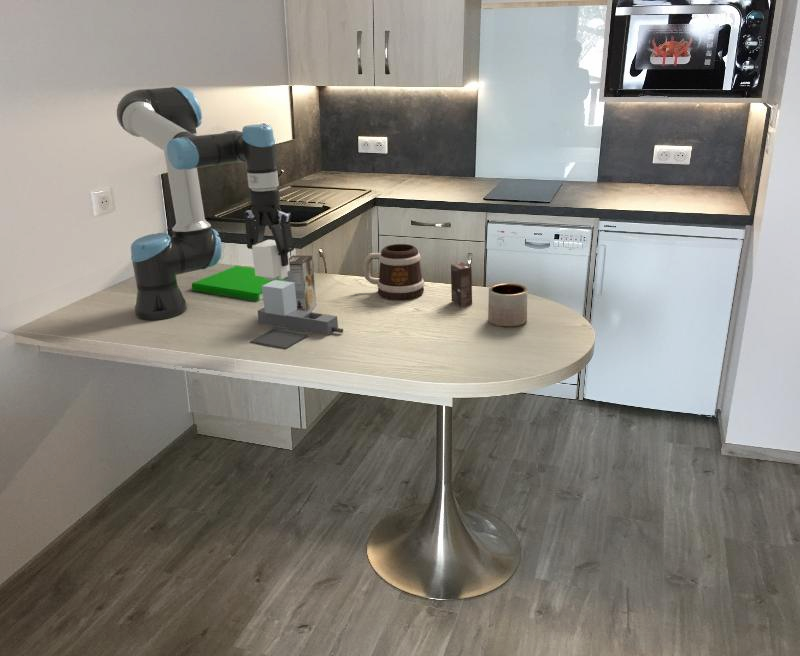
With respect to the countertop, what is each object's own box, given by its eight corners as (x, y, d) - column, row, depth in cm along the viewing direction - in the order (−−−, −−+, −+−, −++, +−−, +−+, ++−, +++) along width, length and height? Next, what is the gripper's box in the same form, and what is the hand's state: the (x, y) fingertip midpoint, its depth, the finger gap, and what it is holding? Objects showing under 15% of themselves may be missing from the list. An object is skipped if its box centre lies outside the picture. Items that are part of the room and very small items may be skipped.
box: (450, 301, 220) (450, 263, 216) (463, 299, 222) (463, 261, 218) (459, 307, 215) (459, 268, 211) (472, 305, 217) (472, 266, 213)
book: (237, 273, 259) (236, 265, 258) (300, 283, 246) (299, 274, 245) (192, 291, 241) (191, 283, 240) (258, 303, 228) (257, 294, 227)
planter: (484, 326, 200) (484, 293, 197) (492, 313, 210) (493, 281, 206) (522, 329, 197) (523, 296, 193) (530, 316, 206) (531, 284, 203)
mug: (430, 287, 234) (429, 242, 229) (417, 302, 221) (415, 255, 215) (372, 284, 240) (370, 240, 235) (356, 298, 227) (353, 252, 221)
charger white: (272, 273, 194) (268, 239, 191) (290, 275, 192) (287, 241, 188) (255, 280, 189) (251, 245, 185) (274, 282, 186) (270, 247, 183)
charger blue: (265, 316, 206) (261, 285, 202) (278, 310, 211) (274, 279, 207) (285, 320, 203) (281, 288, 199) (297, 313, 207) (294, 282, 204)
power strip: (259, 323, 208) (257, 309, 207) (269, 318, 213) (268, 304, 211) (337, 337, 196) (336, 322, 195) (347, 331, 200) (346, 316, 199)
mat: (250, 342, 195) (250, 341, 195) (273, 330, 203) (272, 328, 203) (286, 349, 190) (286, 347, 190) (308, 336, 198) (307, 334, 198)
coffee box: (297, 304, 223) (292, 254, 217) (317, 305, 222) (312, 255, 216) (287, 315, 215) (281, 263, 209) (307, 315, 213) (303, 263, 207)
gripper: (224, 189, 183) (235, 276, 191) (285, 193, 174) (294, 284, 183) (244, 184, 189) (253, 268, 197) (303, 187, 180) (311, 276, 189)
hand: (273, 276), depth 190 cm, fingers closed on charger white, 6 cm apart
